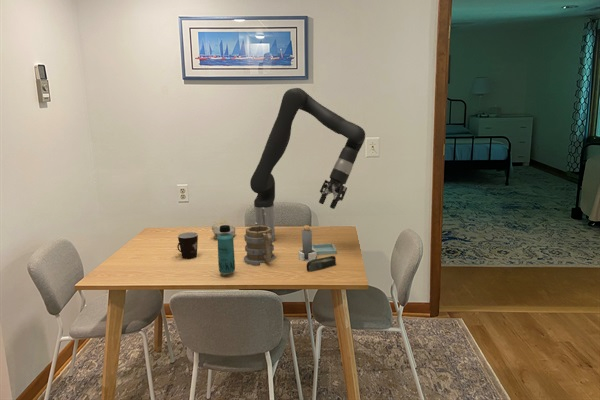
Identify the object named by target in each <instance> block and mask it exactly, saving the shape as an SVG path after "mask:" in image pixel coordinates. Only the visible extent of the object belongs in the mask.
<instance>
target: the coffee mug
mask: <svg viewBox="0 0 600 400" xmlns="http://www.w3.org/2000/svg"><path fill="white" fill-rule="evenodd" d="M198 236H199V234H198V233H197V232H194V231H190V232H189V231H188V232H182V233H179V234H177V239H178V243H177V246H176V248H177V251H178V252H179V253H180V254H181V258H182V259H183V260H193V259H196V258H197V256H198V240H199V237H198Z"/></svg>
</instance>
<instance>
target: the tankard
mask: <svg viewBox="0 0 600 400" xmlns="http://www.w3.org/2000/svg"><path fill="white" fill-rule="evenodd" d="M243 236H244V241H245V242H246V243H245V244H246V245H245V246H244V250H245V253H246V255H244V256H243V260H244V261H245V263H246V264H247V265H251V266H261V264H265V263H270V262H272V261H273V260H275V259H276V258H277V256H276V255H275V254H274V253H273V251H274V250H275V249H274V247H275V246H274V244H273V242H272V240H273V234H272V230H271V228H270V227H269V226H262V225H260V226H259V225H258V226H255V225H252V226H249V227H246V229H245V234H244V235H243Z"/></svg>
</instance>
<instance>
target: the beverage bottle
mask: <svg viewBox="0 0 600 400" xmlns="http://www.w3.org/2000/svg"><path fill="white" fill-rule="evenodd" d="M229 225H230V224H229ZM229 225H222V226H220V232H223V233H222V234H220V235H219V236H218V237H217V238H216V239H217V259H218V260H217V261H218V264H217V266H218V272H219V273H220V274H223V275H227V274H228V275H229V274H232V273H234V272H235V271H236V260H235V245H234V242H235V241H234V236H233V235H231V234H230V233H225V232H230V226H229Z"/></svg>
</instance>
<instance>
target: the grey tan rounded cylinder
mask: <svg viewBox="0 0 600 400" xmlns="http://www.w3.org/2000/svg"><path fill="white" fill-rule="evenodd" d="M312 231H313V230H312V229H310V225H304V226H303V229H302V230H301V238H302V242H301V243H302V246H301V247H302V249H303V253H304V259H306V260H308V254H309V253H312V245H313V237H312V236H313V233H312Z"/></svg>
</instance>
